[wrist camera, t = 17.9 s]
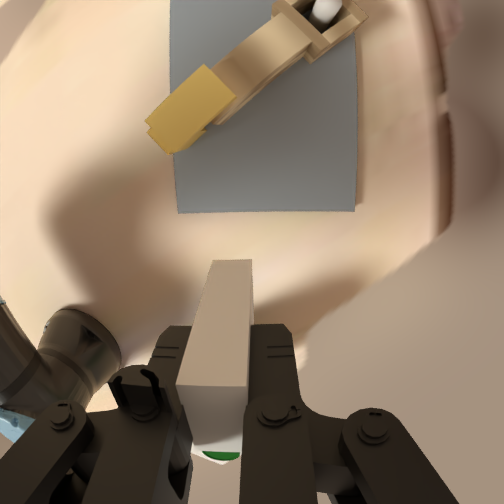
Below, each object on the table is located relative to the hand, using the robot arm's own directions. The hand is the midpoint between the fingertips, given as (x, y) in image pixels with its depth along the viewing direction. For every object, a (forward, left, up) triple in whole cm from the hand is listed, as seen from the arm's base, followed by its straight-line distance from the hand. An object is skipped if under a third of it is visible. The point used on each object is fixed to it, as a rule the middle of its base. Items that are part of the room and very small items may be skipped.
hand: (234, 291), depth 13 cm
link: (+2, +14, -25) cm, 29 cm away
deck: (+1, +10, -26) cm, 28 cm away
